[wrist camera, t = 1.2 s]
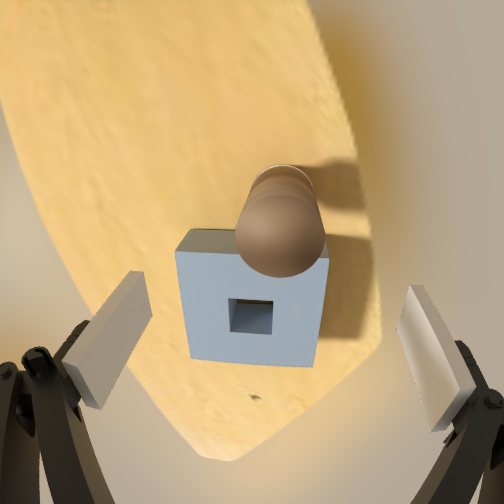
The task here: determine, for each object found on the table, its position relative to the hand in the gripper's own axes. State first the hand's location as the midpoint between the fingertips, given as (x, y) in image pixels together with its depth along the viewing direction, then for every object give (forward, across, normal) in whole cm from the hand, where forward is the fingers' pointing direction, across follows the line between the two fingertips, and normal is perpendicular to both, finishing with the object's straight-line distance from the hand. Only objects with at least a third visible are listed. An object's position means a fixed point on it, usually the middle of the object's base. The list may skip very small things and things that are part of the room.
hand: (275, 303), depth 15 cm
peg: (+22, 0, 0) cm, 22 cm away
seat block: (+22, -3, -14) cm, 26 cm away
